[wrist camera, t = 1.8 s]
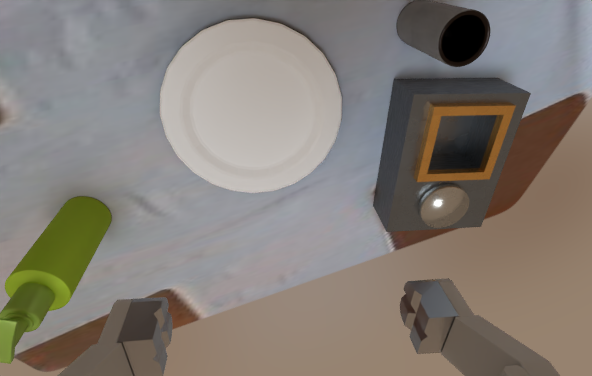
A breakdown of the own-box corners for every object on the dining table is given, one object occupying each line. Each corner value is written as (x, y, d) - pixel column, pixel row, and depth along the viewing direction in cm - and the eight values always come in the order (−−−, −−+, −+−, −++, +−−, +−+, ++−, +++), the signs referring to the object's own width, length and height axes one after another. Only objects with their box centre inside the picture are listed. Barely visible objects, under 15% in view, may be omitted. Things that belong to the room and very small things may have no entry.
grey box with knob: (394, 78, 42) (417, 97, 36) (497, 78, 43) (537, 96, 37) (373, 205, 51) (389, 236, 46) (458, 201, 53) (485, 231, 47)
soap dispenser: (117, 197, 46) (41, 331, 29) (107, 237, 49) (33, 379, 32) (67, 183, 44) (-45, 318, 28) (60, 225, 47) (-44, 369, 31)
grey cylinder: (445, 9, 39) (501, 23, 30) (422, 51, 41) (469, 74, 32) (410, -8, 37) (459, 0, 29) (388, 35, 39) (428, 55, 31)
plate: (150, 166, 45) (147, 173, 43) (178, -15, 35) (175, -14, 34) (305, 201, 50) (307, 208, 49) (367, 53, 40) (372, 56, 39)
